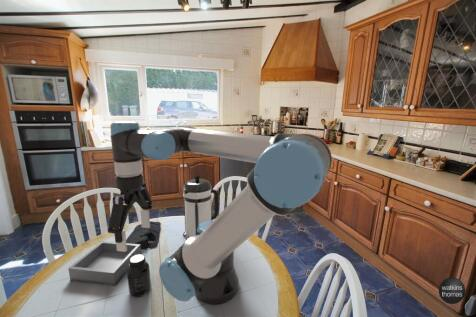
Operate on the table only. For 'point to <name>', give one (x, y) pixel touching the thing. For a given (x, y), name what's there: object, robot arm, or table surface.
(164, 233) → the table surface
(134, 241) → the dark slate chunk
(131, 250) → the bin
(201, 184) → the coffee press
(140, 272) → the supplement bottle
